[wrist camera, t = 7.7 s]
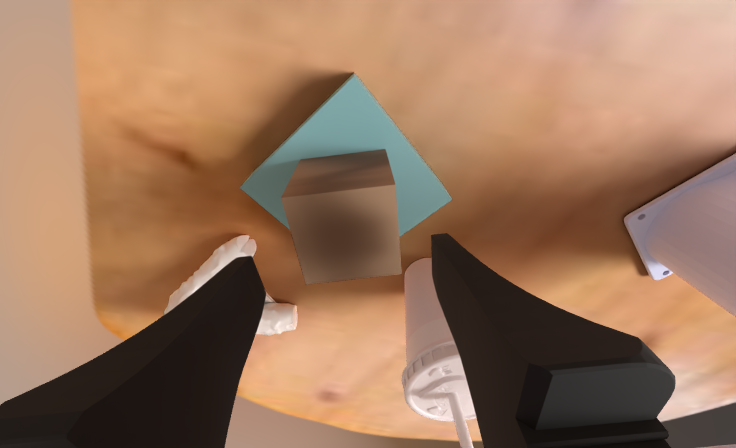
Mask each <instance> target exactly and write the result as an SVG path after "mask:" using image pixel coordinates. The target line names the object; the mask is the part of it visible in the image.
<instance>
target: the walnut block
mask: <svg viewBox="0 0 736 448" xmlns="http://www.w3.org/2000/svg"><path fill="white" fill-rule="evenodd" d="M281 200H282V204H283V207H284V211H285V214H286V218H287V221H288V224H289V228H290V231H291V235H292V238H293V242H294V245H295V249H296V252H297V256H298V259H299V262H300V266H301V269H302V273H303V276H304V280H305V283H306V285H307V284H316V283H325V282H335V281H344V280H353V279H362V278H371V277H380V276H390V275H399V274H402V268H401V254H400V240H399V226H398V212H397V199H396V185H395V181H394V177H393V174H392V170H391V167H390V163H389V160H388V156H387V152H386V149H382V150H373V151H365V152H357V153H349V154H341V155H332V156H324V157H316V158H308V159H300V161H299V163H298V165H297V167H296V169H295V171H294V173H293V175H292V177H291V179H290V181H289V183H288V185H287V187H286V189H285V191H284V193H283V195H282V197H281Z"/></svg>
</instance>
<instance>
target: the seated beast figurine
mask: <svg viewBox="0 0 736 448" xmlns="http://www.w3.org/2000/svg"><path fill="white" fill-rule="evenodd" d="M256 249H257V247H256V243H255V240H254V239H249V236H248V235H242V236H238V237H235V238H233V239H231V240H230V241H227V242H226V243H225V244H222V245H221V246H220V247H219V248H218V249H216V250H215V251H214V252H213V255H211V256H210V258H209V259H208V260H206V261H205V262H204V263H203V264H202V265H201V266H200V269H199V270H197V271H194V274H193V276H190V277H189V278H188V280H187V281H185V282H183V283H182V284H181V286H180V288H179V289H177V290H176V291H174V293H173V294H171V295H170V297H169V302H168V306H167V307H166V309H165V310H164V315H165V314H167V313H168V312H169V311H171V310H172V309H173V308H175V307H176V306H177V305H178V304H180V303H181V302H182V301H184V300H185V299H186V298H187V297H189V296H190V295H191V294H192V293H194V292H195V291H196V290H197V289H199V288H200V287H201V286H202V285H203V284H205V283H206V282H207V281H208V280H209V279H211V278H212V277H213V276H214V275H215V274H216V273H218V272H219V271H220V270H221V269H222V268H224V267H225V266H226V265H227V264H229V263H230V262H231V261H232V260H234V259H235V258H237V257H244V256H252V258H253V256H254V254H255V252H256ZM265 291H266V290H265ZM296 310H297V306H296V305H291V304H290V303H276V302H275V301H274V300H273V299H272V297H271V296H270V295H269V294H268V293H267V292H266V298H265V304H264V309H263V313H262V317H261V320H260V323H259V326H258V329H257V332H256V334H263V335H267V336H269V335H272V334H281V333H282V332H285V331H290V330H295V329H296V326H297V319H298V313H297V311H296Z"/></svg>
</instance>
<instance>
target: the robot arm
mask: <svg viewBox="0 0 736 448" xmlns="http://www.w3.org/2000/svg"><path fill="white" fill-rule="evenodd" d="M639 215H640V216H639ZM624 224H625V226H626V228H627V230H628V232H629V234H630V236H631V238H632V240H633V242H634V245H635V247H636V249H637V251H638V253H639V255H640V257H641V259H642V261H643V263H644V265H645V268H646V270H647V272H648V274H649V276H650V277H651V278H652V279H653V280H660V279H662V278H664V277H666V276H669V275H671V274H673V273H675V274H676V275H677V276H679V277H680V278H682V279H683V280H684V281H686V282H687V283H689V284H690V285H691V286H693V287H694V288H696V289H697V290H698V291H700V292H701V293H703V294H704V295H705V296H707V297H708V298H710V299H711V300H712V301H714V302H715V303H717V304H718V305H719V306H721V307H722V308H724V309H725V310H726V311H728V312H729V313H731V314H732V315H733V316H735V317H736V153H735V154H734V155H732V156H730V157H728V158H727V159H725V160H723V161H721V162H720V163H718V164H716V165H714V166H712V167H711V168H709V169H707V170H705V171H704V172H702V173H700V174H698V175H697V176H695V177H693V178H691V179H690V180H688V181H686V182H684V183H683V184H681V185H679V186H677V187H676V188H674V189H672V190H670V191H669V192H667V193H665V194H663V195H661V196H660V197H658V198H656V199H654V200H653V201H651V202H649V203H647V204H646V205H644V206H642V207H640V208H639V209H637V210H635V211H633V212H632V213H630V214H628V215H627V216H626V217H625V218H624ZM431 240H432V278H433V282H434V286H435V290H436V294H437V298H438V300H439V303H440V306H441V308H442V311H443V313H444V316H445V319H446V321H447V324H448V326H449V329H450V331H451V334H452V336H453V339H454V342H455V344H456V347H457V350H458V352H459V355H460V358H461V362H462V365H463V369H464V373H465V376H466V380H467V383H468V387H469V391H470V395H471V398H472V402H473V406H474V410H475V413H476V417H477V421H478V425H479V429H480V433H481V437H482V441H483V445H484V448H671V447H670V446H669V445H668V443H667V442H666V441H665V439H667V438H668V436H669V434H668V431H667V430H666V429H665V428H664V426H663V425H662V424H661V422H660V421H659V420H658V419H657V418H656V417H657V416H658V414H659V413H660V411H661V410H662V409H663V407H664V406H665V404H666V403H667V401H668V400H669V399H670V397H671V395H672V393H673V391H674V389H675V376H674V375H673V373H672V372H671V370H670V369H669V368H668V367H667V366H666V365H665V364H664V363H663V362H662V361H661V360H660V359H659V358H658V357H657V356H656V355H655V354H654V353H653V352H652V351H651V350H650V349H649V348H648V347H647V346H646V345H645V344H644V343H643V342H642V341H641V340H640V339H639V338H638V337H635V336H632V335H629V334H626V333H623V332H620V331H617V330H615V329H612V328H609V327H606V326H603V325H600V324H597V323H594V322H592V321H589V320H587V319H584V318H582V317H579V316H577V315H575V314H572V313H570V312H567V311H565V310H563V309H561V308H558V307H556V306H554V305H552V304H550V303H548V302H546V301H544V300H542V299H540V298H538V297H536V296H534V295H532V294H530V293H528V292H526V291H525V290H523V289H521V288H519V287H518V286H516V285H514V284H513V283H511V282H509V281H508V280H506V279H504V278H503V277H501V276H500V275H498V274H497V273H496V272H494V271H493V270H491V269H490V268H488V267H487V266H486V265H484V264H483V263H482V262H481V261H479V260H478V259H477V258H475V257H474V256H473V255H472V254H471V253H469V252H468V251H467V250H466V249H465V248H463V247H462V246H461V245H460V244H459V243H458V242H457V241H455V240H454V239H453V238H452V237H451V236H450V235H448V234H447V233H446V234H437V235H431ZM265 298H266V291H265V289H264V286H263V284H262V281H261V278H260V276H259V273H258V271H257V268H256V266H255V263H254V261H253V258H252V256H244V257H237V258H235V259H234V260H232V261H231V262H230V263H229V264H227V265H226V266H225V267H224V268H222V269H221V270H220V271H219V272H218V273H216V274H215V275H214V276H213V277H212V278H211V279H209V280H208V281H207V282H206V283H205V284H203V285H202V286H201V287H200V288H199V289H197V290H196V291H195V292H194V293H192V294H191V295H190V296H189V297H187V298H186V299H185V300H184V301H182V302H181V303H180V304H178V305H177V306H176V307H175V308H173V309H172V310H171V311H169V312H168V313H167V314H165V315H164V316H162V317H161V318H160V319H158V320H157V321H155V322H154V323H152V324H151V325H149V326H148V327H146V328H145V329H143V330H142V331H140V332H139V333H137V334H135V335H134V336H132V337H130V338H129V339H127V340H125V341H124V342H122V343H121V344H119V345H117V346H116V347H114V348H112V349H110V350H109V351H107V352H105V353H103V354H102V355H100V356H98V357H96V358H94V359H93V360H91V361H89V362H87V363H85V364H83V365H81V366H79V367H77V368H75V369H74V370H72V371H70V372H68V373H66V374H64V375H62V376H60V377H58V378H55V379H54V380H52V381H49V382H47V383H45V384H43V385H41V386H38V387H36V388H34V389H32V390H30V391H28V392H25V393H23V394H21V395H19V396H17V397H14V398H12V399H10V400H8V401H5V402H4V403H3V404H1V405H0V448H224V447H225V442H226V437H227V432H228V427H229V422H230V418H231V414H232V409H233V405H234V400H235V396H236V393H237V388H238V384H239V380H240V377H241V374H242V371H243V368H244V365H245V362H246V359H247V357H248V354H249V351H250V348H251V346H252V343H253V340H254V337H255V335H256V332H257V329H258V326H259V323H260V320H261V317H262V313H263V309H264V304H265ZM700 448H736V444H733V445H723V446H710V447H700Z"/></svg>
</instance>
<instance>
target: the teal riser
mask: <svg viewBox="0 0 736 448" xmlns="http://www.w3.org/2000/svg"><path fill="white" fill-rule="evenodd" d="M382 149H386V152H387V156H388V160H389V163H390V167H391V170H392V174H393V177H394V181H395V185H396V199H397V212H398V226H399V237H400V236H402V235H403V234H405V233H406V232H407V231H409V230H410V229H412V228H413V227H414V226H416V225H417V224H419V223H420V222H422V221H423V220H424V219H426V218H427V217H429V216H430V215H431V214H433V213H434V212H436V211H437V210H438V209H440V208H441V207H443V206H444V205H446V204H447V203H448V202H450V201H451V200H452V198H451V197H450V195H449V193H448V192H447V190H446V189H445V187H444V185H443V184H442V183H441V181H440V180H439V179H438V177H437V176H436V175H435V174H434V172H433V171H432V170H431V169H430V167H429V166H428V165H427V164H426V162H425V161H424V160H423V158H422V157H421V156H420V155H419V153H418V152H417V151H416V150H415V148H414V147H413V146H412V145H411V143H410V142H409V141H408V140H407V138H406V137H405V136H404V134H403V133H402V132H401V131H400V129H399V128H398V127H397V126H396V124H395V123H394V122H393V121H392V119H391V118H390V117H389V116H388V114H387V113H386V112H385V110H384V109H383V108H382V107H381V105H380V104H379V103H378V102H377V100H376V99H375V98H374V97H373V95H372V94H371V93H370V91H369V90H368V89H367V88H366V86H365V85H364V84H363V83H362V81H361V80H360V79H359V78H358V76H357V75H356V74H355V73H353V74H352V75H351V76H350V77H349V78H348V79H347V80H346V81H345V82H344V83H343V84H342V85H341V86H340V87H339V88H338V89H337V90H336V91H335V92H334V93H333V94H332V95H331V96H330V97H329V98H328V99H327V100H326V101H325V102H324V103H323V104H322V105H321V106H320V107H319V108H318V109H317V110H316V111H314V112H313V113H312V114H311V115H310V116H309V117H308V118H307V119H306V120H305V121H304V122H303V123H302V124H301V125H300V126H299V127H298V128H297V129H296V130H295V131H294V132H293V133H292V134H291V135H290V136H289V137H288V138H287V139H286V140H285V141H284V142H283V143H282V144H281V145H280V146H279V147H278V148H277V149H276V150H275V151H274V152H273V153H272V154H271V155H270V156H269V157H268V158H267V159H266V160H265V161H264V162H262V163H261V164H260V165H259V166H258V167H257V168H256V169H255V170H254V171H253V172H252V173H251V175H250V176H249V177H248V178H247V179H246V181H245V182H244V183H243V184H242V185H241V187H240V189H242V190H243V191H244V192H245V193H246V194H248V195H249V196H250V197H251V198H252V199H254V200H255V201H256V202H257V203H258V204H259V205H261V206H262V207H263V208H264V209H265V210H267V211H268V212H269V213H270V214H271V215H273V216H274V217H275V218H276V219H277V220H279V221H280V222H281V223H282V224H283V225H284V226H286V227H287V228H288V229H289V230H290V228H289V224H288V221H287V218H286V214H285V211H284V207H283V204H282V200H281V197H282V195H283V193H284V191H285V189H286V187H287V185H288V183H289V181H290V179H291V177H292V175H293V173H294V171H295V169H296V167H297V165H298V163H299V161H300V159H308V158H316V157H324V156H332V155H341V154H349V153H357V152H365V151H373V150H382Z"/></svg>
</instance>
